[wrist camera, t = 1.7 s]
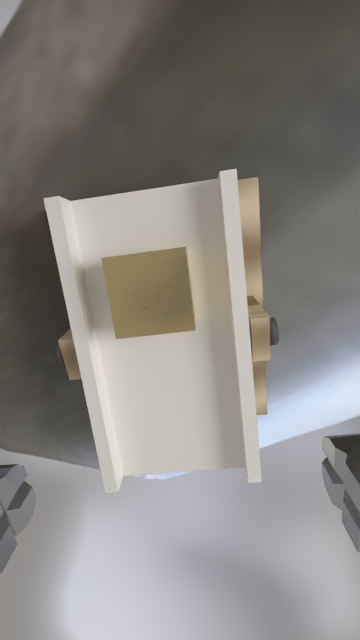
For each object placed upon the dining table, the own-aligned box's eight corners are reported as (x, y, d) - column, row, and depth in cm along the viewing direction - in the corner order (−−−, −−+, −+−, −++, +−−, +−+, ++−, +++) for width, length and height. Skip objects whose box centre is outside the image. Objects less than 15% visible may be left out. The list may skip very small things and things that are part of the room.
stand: (50, 208, 28) (4, 207, 21) (255, 178, 27) (279, 165, 20) (108, 422, 37) (88, 471, 30) (265, 408, 36) (283, 457, 29)
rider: (116, 257, 24) (101, 257, 20) (187, 248, 24) (185, 246, 20) (128, 326, 25) (115, 339, 22) (195, 319, 25) (195, 330, 21)
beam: (64, 206, 25) (43, 198, 22) (230, 181, 24) (236, 168, 21) (115, 466, 30) (105, 492, 27) (254, 455, 29) (261, 481, 26)
